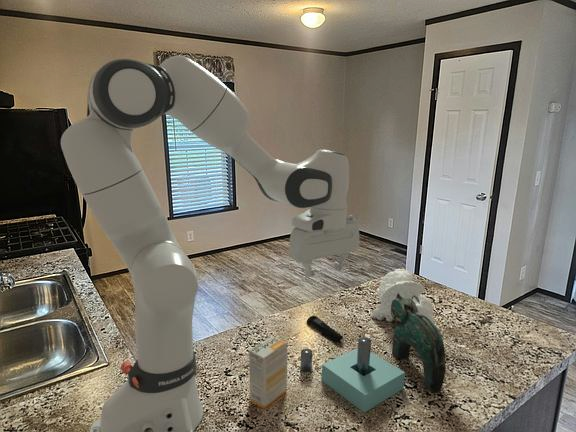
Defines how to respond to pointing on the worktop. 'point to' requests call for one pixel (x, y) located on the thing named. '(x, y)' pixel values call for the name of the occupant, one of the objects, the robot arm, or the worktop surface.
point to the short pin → (306, 360)
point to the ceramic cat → (418, 340)
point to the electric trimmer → (324, 328)
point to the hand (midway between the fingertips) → (324, 272)
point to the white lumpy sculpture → (405, 288)
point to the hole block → (363, 380)
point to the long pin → (363, 355)
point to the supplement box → (268, 371)
